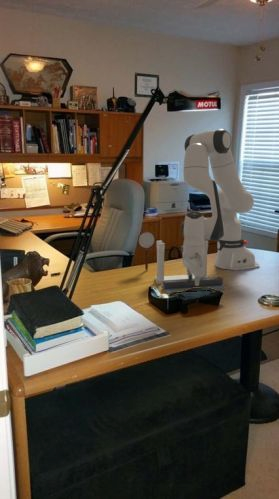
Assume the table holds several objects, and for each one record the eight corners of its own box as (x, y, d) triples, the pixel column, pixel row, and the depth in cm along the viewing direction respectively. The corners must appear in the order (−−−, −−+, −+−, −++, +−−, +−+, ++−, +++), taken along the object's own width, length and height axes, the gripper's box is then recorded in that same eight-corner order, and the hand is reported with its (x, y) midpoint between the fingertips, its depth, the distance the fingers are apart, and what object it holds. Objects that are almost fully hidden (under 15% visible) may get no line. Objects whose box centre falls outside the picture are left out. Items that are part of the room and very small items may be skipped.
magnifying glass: (154, 269, 202) (154, 230, 198) (155, 270, 201) (155, 231, 196) (137, 271, 201) (137, 231, 196) (138, 271, 199) (138, 232, 194)
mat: (217, 282, 182) (217, 280, 182) (225, 289, 173) (225, 288, 173) (161, 285, 178) (161, 284, 178) (166, 293, 168) (166, 292, 168)
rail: (220, 283, 179) (220, 276, 178) (222, 285, 176) (222, 278, 175) (162, 287, 175) (162, 280, 174) (164, 289, 172) (164, 282, 171)
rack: (204, 276, 190) (205, 238, 186) (208, 280, 185) (210, 241, 180) (154, 279, 186) (154, 240, 182) (157, 283, 181) (157, 243, 176)
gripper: (209, 256, 162) (208, 289, 165) (193, 245, 182) (193, 274, 185) (194, 257, 161) (193, 290, 164) (180, 245, 181) (179, 275, 184)
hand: (193, 281), depth 175 cm, fingers open, 8 cm apart
